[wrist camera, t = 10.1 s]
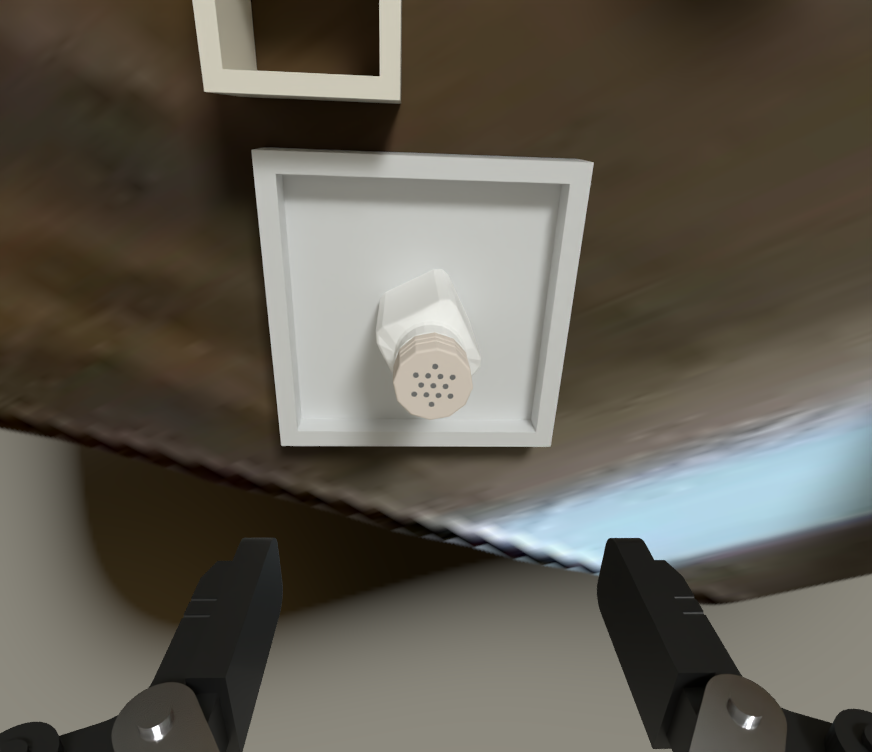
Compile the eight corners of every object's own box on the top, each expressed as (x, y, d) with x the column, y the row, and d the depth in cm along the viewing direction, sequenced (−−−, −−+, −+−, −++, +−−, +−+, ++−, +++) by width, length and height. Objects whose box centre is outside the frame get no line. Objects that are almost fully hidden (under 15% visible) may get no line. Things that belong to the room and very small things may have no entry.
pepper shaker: (442, 261, 29) (459, 322, 20) (472, 325, 30) (498, 405, 22) (376, 293, 29) (364, 364, 21) (408, 353, 31) (410, 443, 22)
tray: (578, 158, 28) (593, 162, 26) (541, 425, 35) (550, 446, 33) (264, 147, 27) (251, 149, 25) (289, 424, 34) (281, 445, 32)
